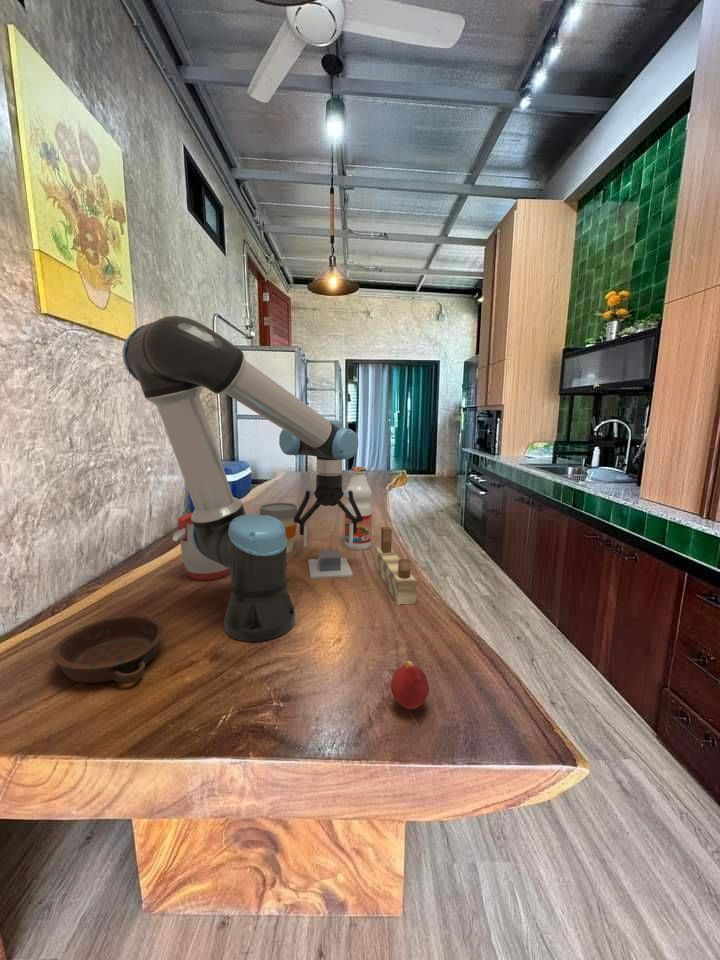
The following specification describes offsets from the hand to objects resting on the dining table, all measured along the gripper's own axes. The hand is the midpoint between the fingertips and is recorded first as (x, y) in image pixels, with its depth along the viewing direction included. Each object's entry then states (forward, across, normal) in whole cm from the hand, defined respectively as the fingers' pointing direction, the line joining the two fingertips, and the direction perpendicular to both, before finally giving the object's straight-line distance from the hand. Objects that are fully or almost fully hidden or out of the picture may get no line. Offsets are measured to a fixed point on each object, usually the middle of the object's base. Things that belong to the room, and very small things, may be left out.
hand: (328, 545), depth 119 cm
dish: (+9, +44, +39) cm, 59 cm away
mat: (+8, -1, 0) cm, 8 cm away
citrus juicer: (+8, +34, -2) cm, 35 cm away
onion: (+8, -7, +60) cm, 61 cm away
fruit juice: (+7, -13, -20) cm, 25 cm away
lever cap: (+7, 0, 0) cm, 7 cm away
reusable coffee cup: (+8, +15, -20) cm, 26 cm away
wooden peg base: (+7, -17, +12) cm, 22 cm away
